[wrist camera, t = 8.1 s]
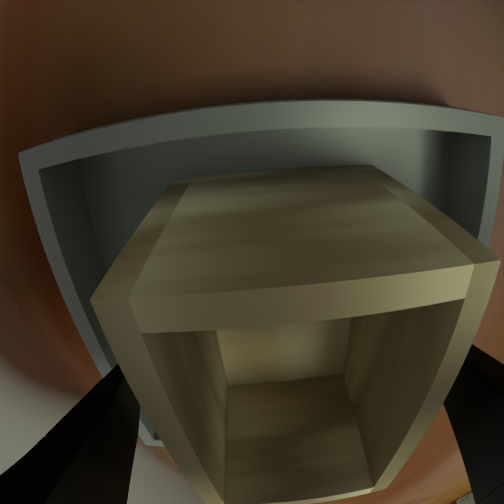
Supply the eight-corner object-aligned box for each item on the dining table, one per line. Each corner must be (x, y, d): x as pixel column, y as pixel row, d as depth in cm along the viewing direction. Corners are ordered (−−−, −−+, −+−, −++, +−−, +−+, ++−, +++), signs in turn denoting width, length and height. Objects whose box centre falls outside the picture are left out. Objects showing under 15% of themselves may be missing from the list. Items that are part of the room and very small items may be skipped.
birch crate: (372, 164, 9) (501, 259, 4) (351, 370, 13) (386, 488, 8) (173, 179, 9) (89, 299, 4) (217, 383, 13) (209, 508, 8)
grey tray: (450, 106, 9) (505, 117, 6) (403, 374, 15) (422, 417, 12) (69, 134, 9) (17, 153, 6) (155, 398, 15) (145, 445, 13)
